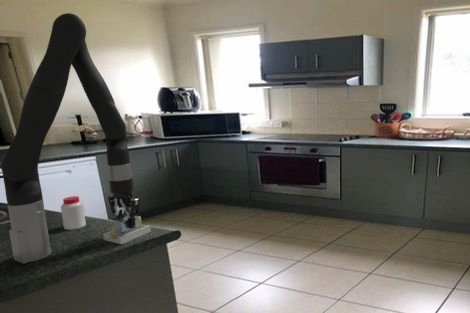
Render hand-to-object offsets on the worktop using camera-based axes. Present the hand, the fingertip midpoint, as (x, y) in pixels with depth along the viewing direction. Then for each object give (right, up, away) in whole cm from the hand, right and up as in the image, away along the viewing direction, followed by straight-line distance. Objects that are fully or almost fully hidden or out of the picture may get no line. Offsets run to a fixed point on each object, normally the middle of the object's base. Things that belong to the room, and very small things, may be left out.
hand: (126, 226), depth 124 cm
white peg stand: (0, -3, 0) cm, 3 cm away
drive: (0, -2, 0) cm, 2 cm away
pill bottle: (-24, -3, +16) cm, 29 cm away
